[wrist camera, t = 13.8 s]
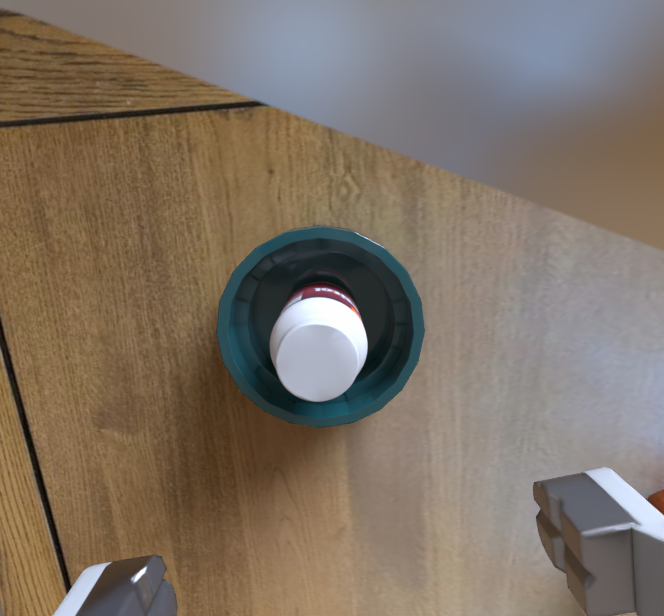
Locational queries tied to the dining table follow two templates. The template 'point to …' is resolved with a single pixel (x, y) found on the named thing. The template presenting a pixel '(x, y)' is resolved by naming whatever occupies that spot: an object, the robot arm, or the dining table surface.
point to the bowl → (366, 290)
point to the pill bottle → (318, 342)
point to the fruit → (657, 501)
